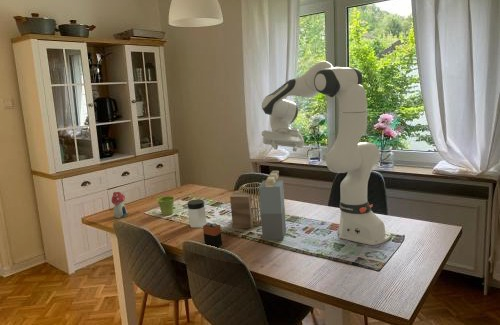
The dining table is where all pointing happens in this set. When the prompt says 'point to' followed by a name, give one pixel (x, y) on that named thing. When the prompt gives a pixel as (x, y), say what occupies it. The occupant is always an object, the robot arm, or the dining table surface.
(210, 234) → the battery
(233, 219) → the boxes
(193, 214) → the jar
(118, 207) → the decorative ornament
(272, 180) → the bar
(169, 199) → the plant pot
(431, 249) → the dining table surface
